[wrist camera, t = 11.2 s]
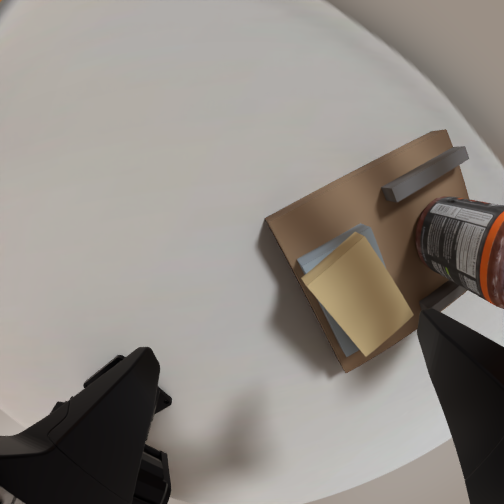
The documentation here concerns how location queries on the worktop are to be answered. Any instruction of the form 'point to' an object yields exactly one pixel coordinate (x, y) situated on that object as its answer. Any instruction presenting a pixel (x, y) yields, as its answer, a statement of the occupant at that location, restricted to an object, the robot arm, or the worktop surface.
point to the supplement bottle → (465, 244)
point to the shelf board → (380, 220)
